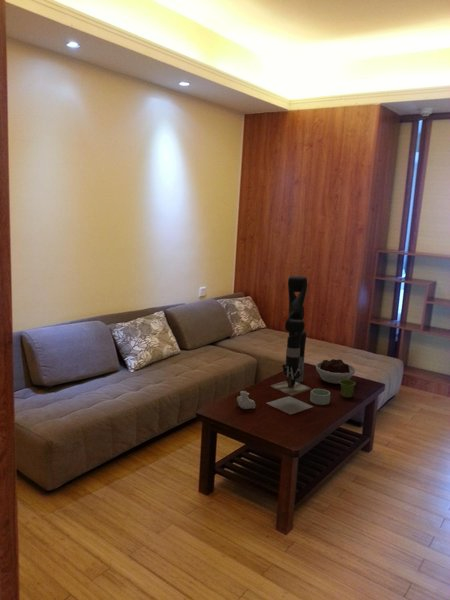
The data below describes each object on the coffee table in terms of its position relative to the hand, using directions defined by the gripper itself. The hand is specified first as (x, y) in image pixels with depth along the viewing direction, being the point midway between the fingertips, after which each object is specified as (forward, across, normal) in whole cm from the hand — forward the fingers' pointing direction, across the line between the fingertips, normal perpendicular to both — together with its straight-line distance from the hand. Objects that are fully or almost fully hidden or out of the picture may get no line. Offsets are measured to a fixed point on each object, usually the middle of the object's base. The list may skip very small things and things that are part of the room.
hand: (291, 384), depth 273 cm
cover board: (+2, 0, 0) cm, 2 cm away
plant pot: (+13, +9, +40) cm, 43 cm away
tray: (+13, 0, 0) cm, 13 cm away
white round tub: (+14, -12, +55) cm, 58 cm away
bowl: (+13, +6, +19) cm, 24 cm away
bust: (+13, -12, -23) cm, 29 cm away
